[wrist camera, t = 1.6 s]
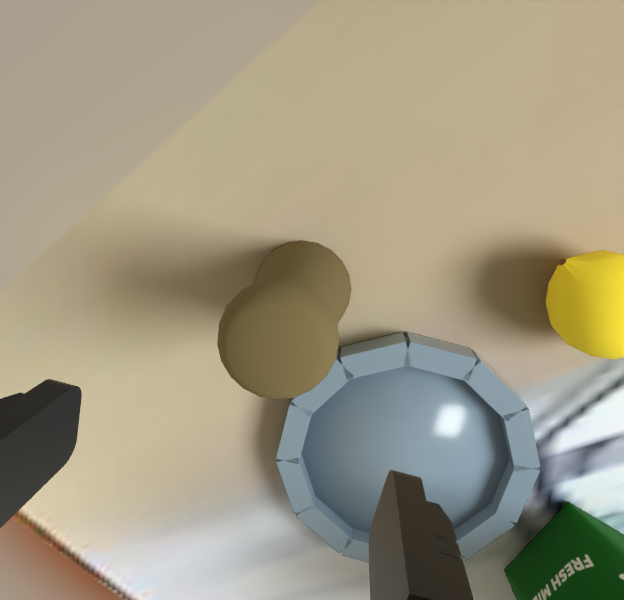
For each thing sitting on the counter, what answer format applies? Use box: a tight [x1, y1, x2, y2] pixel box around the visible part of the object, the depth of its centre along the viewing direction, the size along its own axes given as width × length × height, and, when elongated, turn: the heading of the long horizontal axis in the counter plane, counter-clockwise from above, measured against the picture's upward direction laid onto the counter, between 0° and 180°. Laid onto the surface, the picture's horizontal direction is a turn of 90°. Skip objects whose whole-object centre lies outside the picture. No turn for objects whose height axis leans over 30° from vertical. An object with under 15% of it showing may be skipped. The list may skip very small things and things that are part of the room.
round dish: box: [276, 332, 540, 562], centre depth 30 cm, size 16×16×2 cm
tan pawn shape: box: [217, 241, 351, 400], centre depth 23 cm, size 6×6×11 cm
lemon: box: [546, 250, 624, 359], centre depth 25 cm, size 7×5×5 cm
